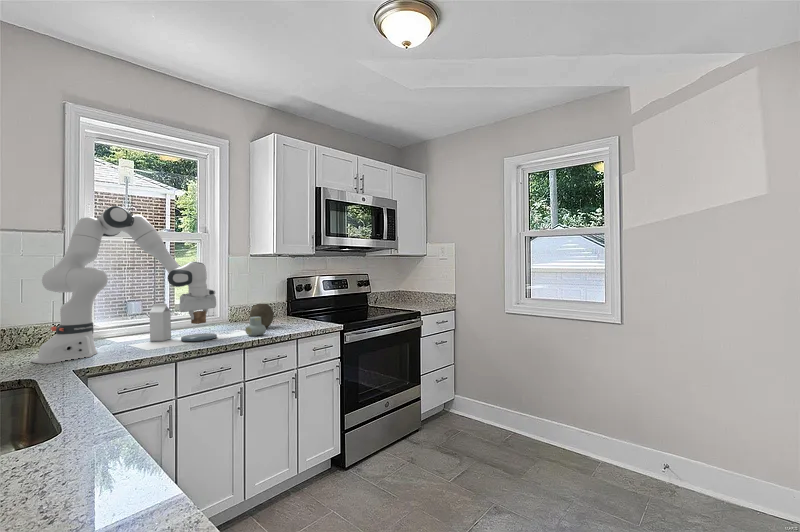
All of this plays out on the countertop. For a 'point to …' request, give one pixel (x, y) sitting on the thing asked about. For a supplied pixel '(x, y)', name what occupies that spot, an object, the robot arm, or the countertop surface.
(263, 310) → the dark rounded stone
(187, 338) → the dish
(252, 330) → the air freshener
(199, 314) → the block
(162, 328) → the milk carton
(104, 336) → the countertop surface
